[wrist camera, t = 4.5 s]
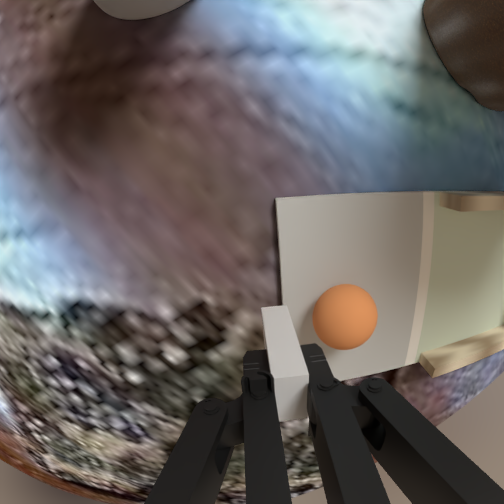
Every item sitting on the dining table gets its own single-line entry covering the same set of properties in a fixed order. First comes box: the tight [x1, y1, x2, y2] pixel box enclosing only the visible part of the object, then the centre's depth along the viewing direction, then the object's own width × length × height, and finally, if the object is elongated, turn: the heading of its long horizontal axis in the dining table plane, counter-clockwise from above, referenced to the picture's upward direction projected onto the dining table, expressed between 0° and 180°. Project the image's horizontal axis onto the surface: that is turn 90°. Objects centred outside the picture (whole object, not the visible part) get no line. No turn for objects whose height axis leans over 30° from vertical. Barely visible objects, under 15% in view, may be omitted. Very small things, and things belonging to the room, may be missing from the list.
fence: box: [419, 191, 504, 378], centre depth 18 cm, size 12×14×4 cm
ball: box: [312, 284, 378, 350], centre depth 17 cm, size 4×4×4 cm
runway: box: [275, 191, 504, 381], centre depth 20 cm, size 24×14×1 cm, turn 95°
